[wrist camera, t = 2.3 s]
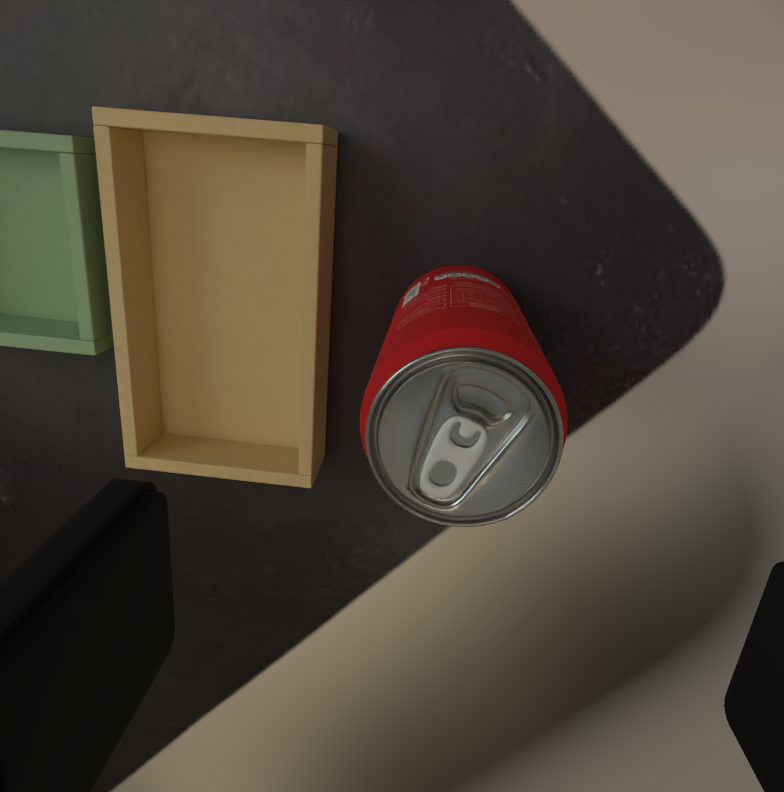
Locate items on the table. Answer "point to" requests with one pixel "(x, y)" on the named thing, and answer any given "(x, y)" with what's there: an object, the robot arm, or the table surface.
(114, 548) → the robot arm
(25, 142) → the can tray
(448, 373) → the beverage can
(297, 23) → the table surface
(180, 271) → the box tray
